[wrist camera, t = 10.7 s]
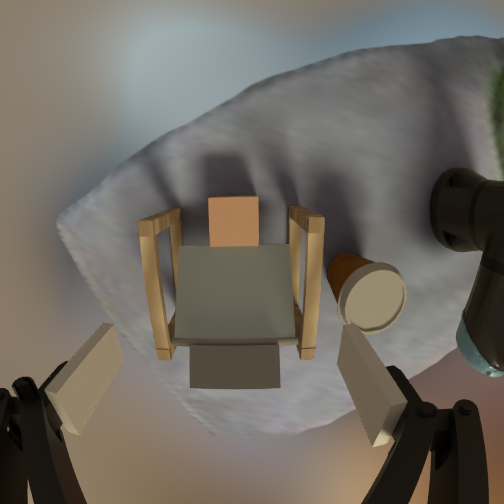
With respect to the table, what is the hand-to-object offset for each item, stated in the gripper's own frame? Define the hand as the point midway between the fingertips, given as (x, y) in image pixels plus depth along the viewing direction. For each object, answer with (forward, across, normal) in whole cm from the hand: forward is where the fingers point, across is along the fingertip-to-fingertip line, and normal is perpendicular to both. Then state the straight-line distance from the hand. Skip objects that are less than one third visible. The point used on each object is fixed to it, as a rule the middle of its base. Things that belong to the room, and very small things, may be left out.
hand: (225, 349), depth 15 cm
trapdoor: (+18, +1, +7) cm, 19 cm away
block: (+24, +1, -1) cm, 24 cm away
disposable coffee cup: (+27, -16, +5) cm, 32 cm away
